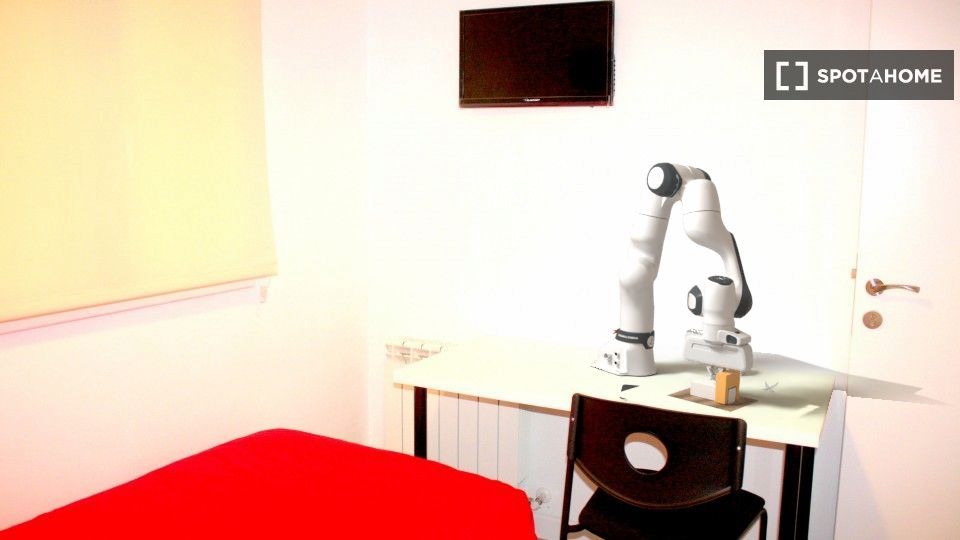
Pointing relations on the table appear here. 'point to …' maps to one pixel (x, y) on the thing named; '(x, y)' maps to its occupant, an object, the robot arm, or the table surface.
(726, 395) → the upright orange block
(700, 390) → the long white block
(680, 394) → the board
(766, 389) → the scissors
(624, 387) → the phone
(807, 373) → the table surface
